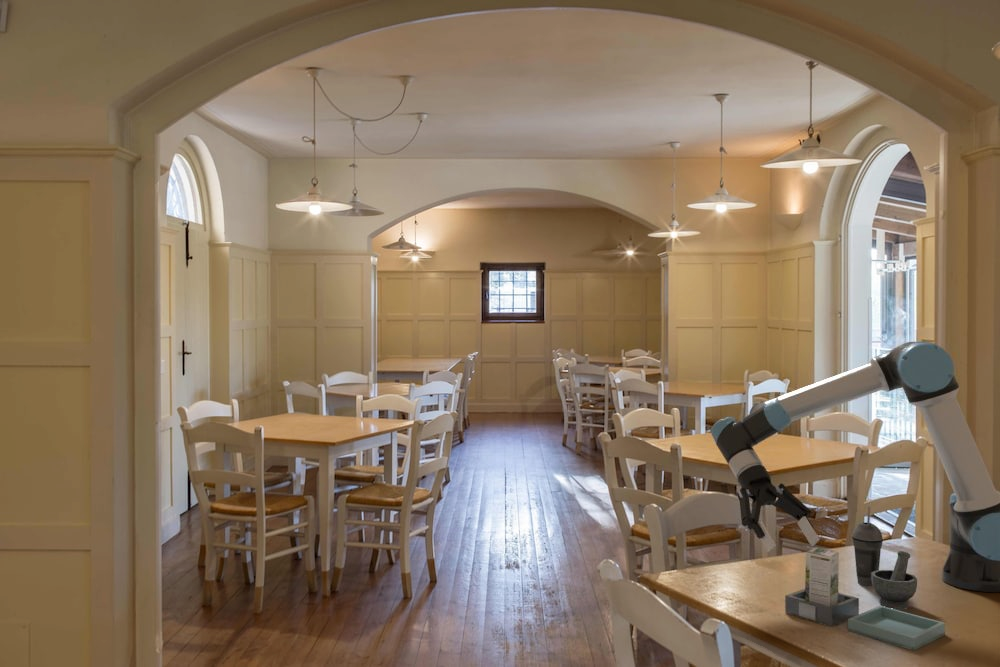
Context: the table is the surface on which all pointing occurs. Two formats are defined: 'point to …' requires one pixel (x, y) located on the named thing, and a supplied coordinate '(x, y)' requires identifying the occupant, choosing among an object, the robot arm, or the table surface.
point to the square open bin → (822, 608)
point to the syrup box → (822, 576)
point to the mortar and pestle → (895, 584)
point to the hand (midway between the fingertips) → (794, 546)
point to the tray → (896, 627)
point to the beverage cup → (867, 550)
